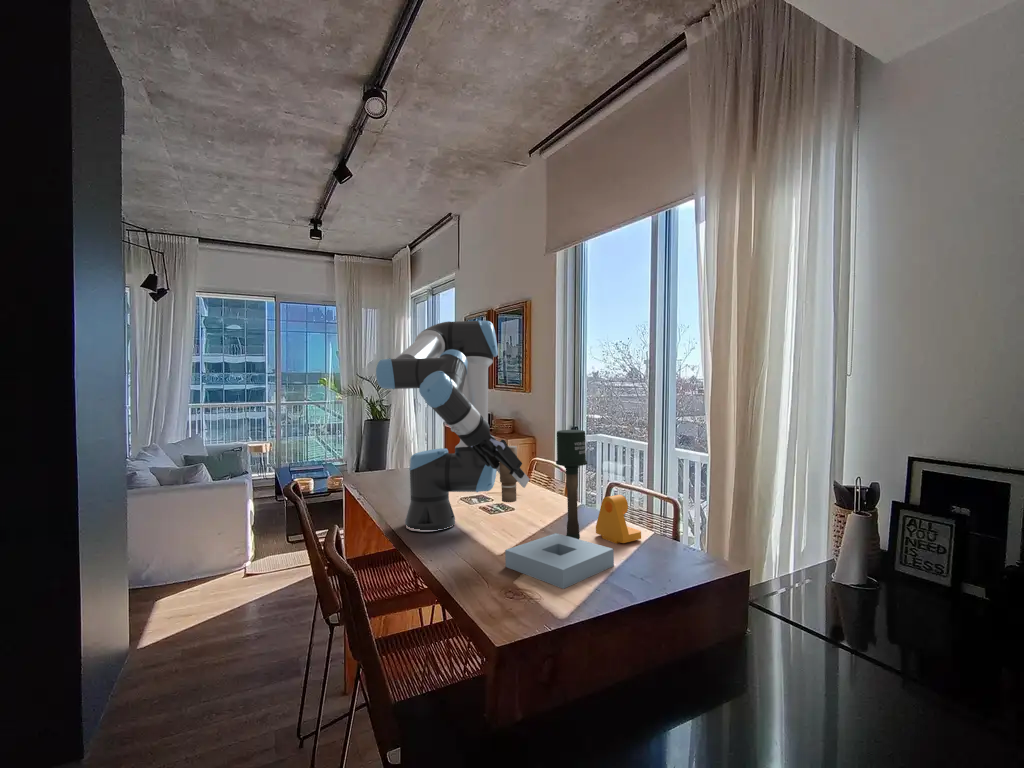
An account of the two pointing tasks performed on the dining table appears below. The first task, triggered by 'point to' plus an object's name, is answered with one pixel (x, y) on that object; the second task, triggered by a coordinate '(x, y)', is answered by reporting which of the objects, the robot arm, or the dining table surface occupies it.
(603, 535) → the bracket
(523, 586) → the dining table surface
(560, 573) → the socket plate
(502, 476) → the peg
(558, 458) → the potato masher grenade
